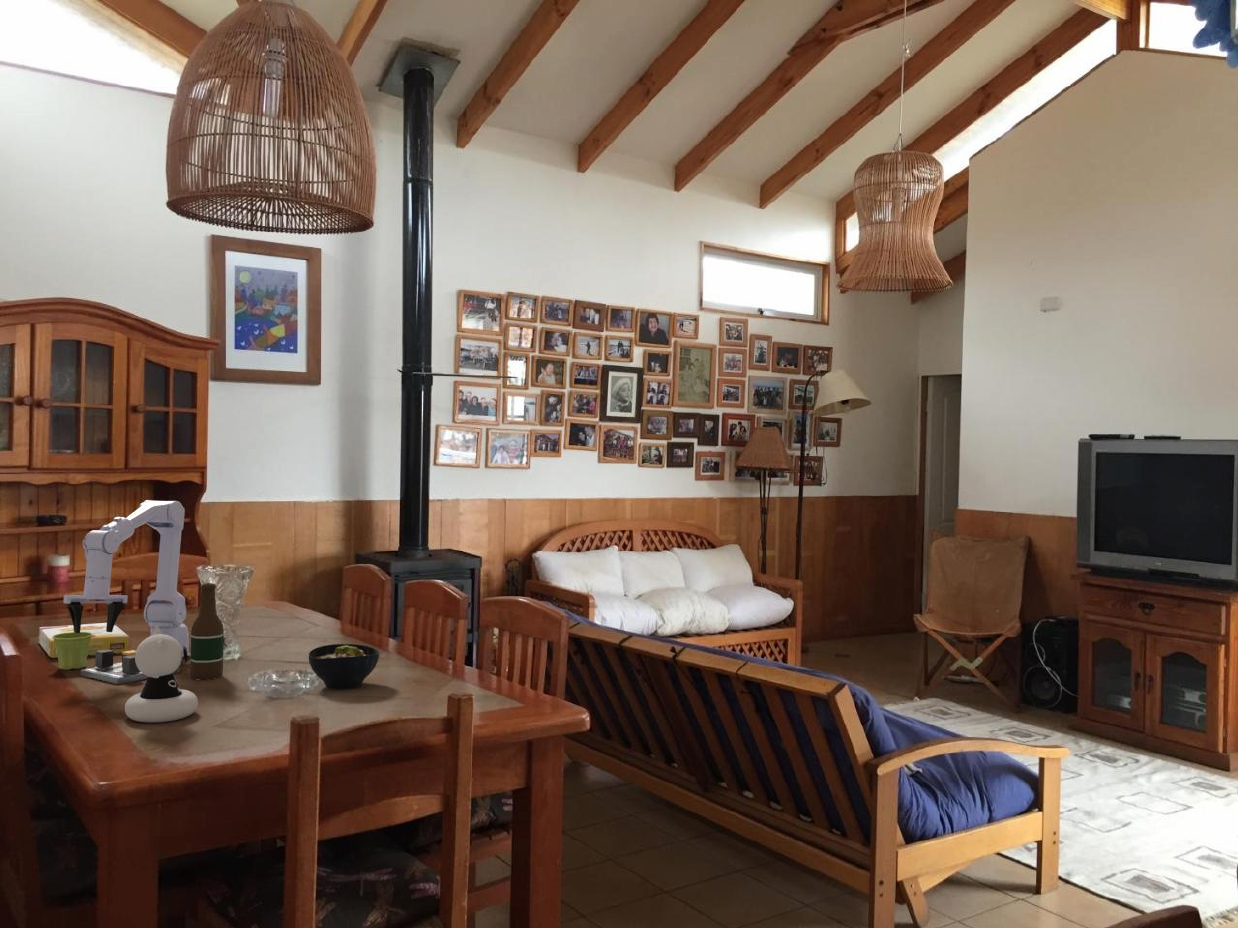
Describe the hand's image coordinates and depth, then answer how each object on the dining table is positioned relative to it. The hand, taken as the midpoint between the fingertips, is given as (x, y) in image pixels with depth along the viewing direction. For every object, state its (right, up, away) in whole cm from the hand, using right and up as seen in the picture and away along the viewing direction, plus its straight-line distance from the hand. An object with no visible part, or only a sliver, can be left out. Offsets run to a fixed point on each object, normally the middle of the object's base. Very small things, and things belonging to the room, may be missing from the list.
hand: (93, 632), depth 249 cm
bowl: (+63, -14, -1) cm, 65 cm away
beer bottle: (+26, -13, +6) cm, 30 cm away
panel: (+6, -12, +7) cm, 15 cm away
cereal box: (-24, -12, +40) cm, 49 cm away
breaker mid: (+6, -10, +7) cm, 14 cm away
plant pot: (-13, -12, +14) cm, 22 cm away
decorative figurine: (+32, -13, -32) cm, 47 cm away
